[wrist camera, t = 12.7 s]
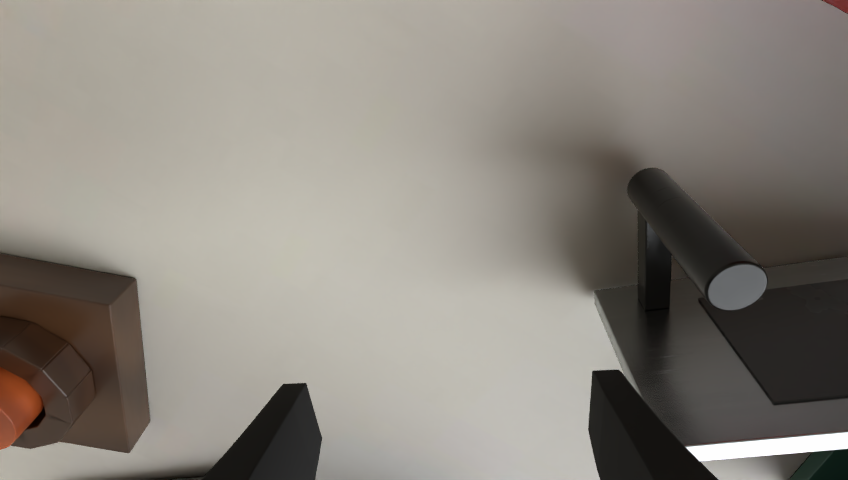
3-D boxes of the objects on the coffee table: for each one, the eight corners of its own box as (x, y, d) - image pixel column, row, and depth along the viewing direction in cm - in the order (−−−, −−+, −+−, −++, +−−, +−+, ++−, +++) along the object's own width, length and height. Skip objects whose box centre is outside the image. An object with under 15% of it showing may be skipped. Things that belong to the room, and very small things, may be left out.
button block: (150, 421, 29) (109, 484, 25) (-11, 393, 28) (-76, 454, 25) (137, 278, 24) (83, 331, 21) (-57, 242, 24) (-146, 290, 20)
